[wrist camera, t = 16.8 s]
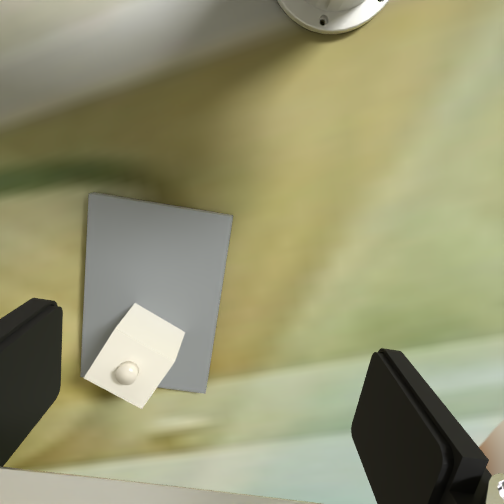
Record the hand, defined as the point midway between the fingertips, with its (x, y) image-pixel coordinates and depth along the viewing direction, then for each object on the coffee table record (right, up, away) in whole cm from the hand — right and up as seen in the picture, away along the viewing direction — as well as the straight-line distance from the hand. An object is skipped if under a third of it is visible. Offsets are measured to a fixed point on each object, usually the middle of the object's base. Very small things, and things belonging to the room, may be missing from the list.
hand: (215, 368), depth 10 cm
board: (-10, -2, +30) cm, 31 cm away
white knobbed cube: (-11, -7, +30) cm, 32 cm away
